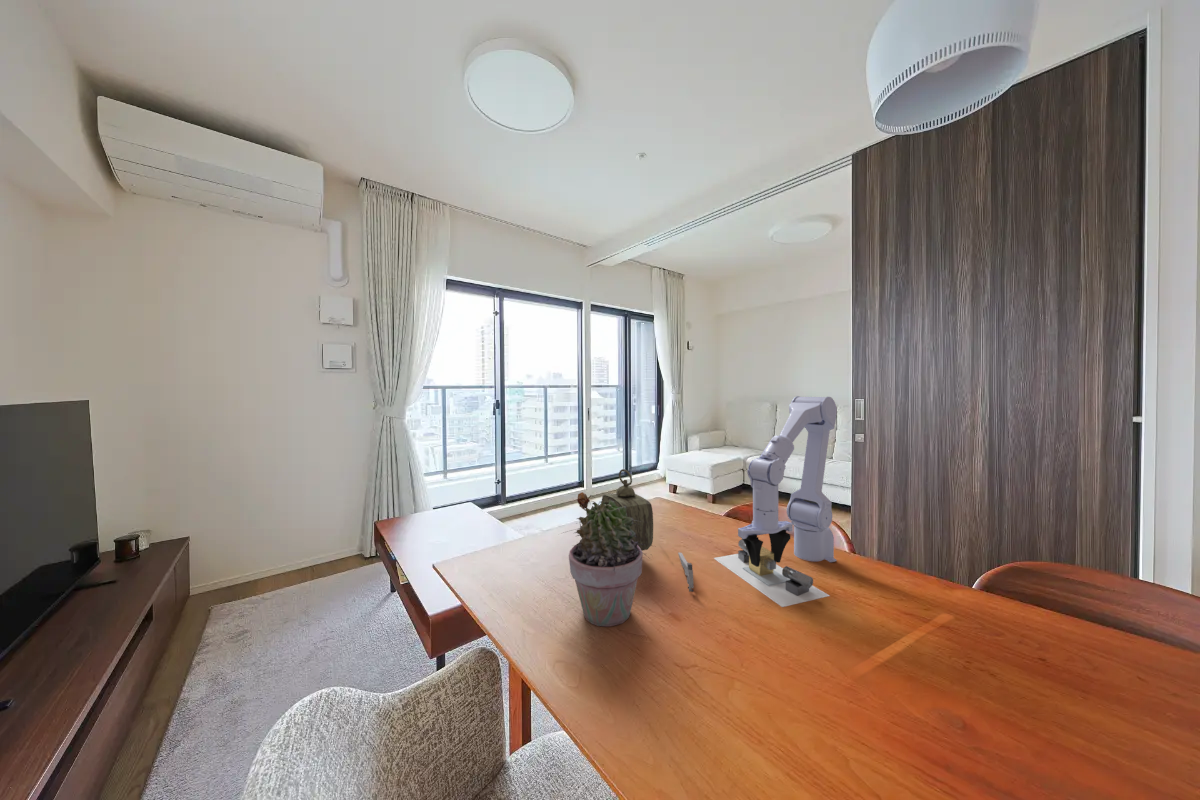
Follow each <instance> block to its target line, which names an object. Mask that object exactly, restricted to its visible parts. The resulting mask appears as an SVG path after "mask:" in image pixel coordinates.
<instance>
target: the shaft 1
mask: <svg viewBox="0 0 1200 800" xmlns="http://www.w3.org/2000/svg"><path fill="white" fill-rule="evenodd" d="M738 547H739V548H741V550H737V552H738V553H737V554H738V558H739V559H740V560H741V561H742V562H743V563H748V562H749V556H748V550H747V547H746V545H745V543H744V541H743V539H742V538H741V539H740V540H739V541H738Z"/></svg>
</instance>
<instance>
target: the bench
mask: <svg viewBox="0 0 1200 800" xmlns="http://www.w3.org/2000/svg"><path fill="white" fill-rule="evenodd" d="M713 559H714V560H715V561H717V562H718V563H719V564H721V565H722V566H723V567H725V568H726V569H728V570H729V571H730V572H732V573H733V574H734V575H737V576H738V577H739V579H742V580H743V581H745V582H746V583H748V585H750V586H752V588H754V589H756V590H757V591H759V592H760V593H761V594H763V595H764V596H766V597H767V598H769V599H770V600H772V602H774V603H776V604H777V605H778V606H780V607H781V608H786V607H789V606H793V605H797V604H802V603H805V602H810V601H815V600H819V599H823V598H827V597H831V595H829V594H828V593H827V592H824V591H823V590H821V589H819V588H818V587H816V586H814V584H813V585H812V586H811V587H810V588H809V592H806V593H804V594H801V595H799V596H796V595H795V594H793V593H791V592H789V591H787V590H786V581H788V580H790V579H788V578H786V577H784V576H783V575H782V570H783V568H784V567H781V566H780V565H779V564H777V563H776V569H773V573H772V574H767V575H762V576H759V575H758V574H757V573H755V572H754V571H752V570H751V569H750V568H749V562H748V563H743V562H742V561H741V560H740V559H739V558H738V553H734V554H729V555H723V556H722V555H721V556H718V557H717V556H716V557H713Z"/></svg>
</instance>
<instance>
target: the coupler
mask: <svg viewBox="0 0 1200 800" xmlns="http://www.w3.org/2000/svg"><path fill="white" fill-rule="evenodd" d="M748 556H749V553H748ZM776 564H777V562H776V561H774V553H772V552H771V550H770V549H767V547H764V546H762V547H761V551H760V564H759V567H756V566H754V565H753V564H751V560H750V556H749V568H750V569H751V570H752V571H754V572H755V573H757V574H758V575H759V576H762V575H767V574H772V573H773V569H776Z"/></svg>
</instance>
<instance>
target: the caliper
mask: <svg viewBox="0 0 1200 800" xmlns="http://www.w3.org/2000/svg"><path fill="white" fill-rule="evenodd" d="M677 554H678V557H679V561H680V564H681V566H682V568H683V569H684V574H685V576H686V583H687V584H688V586H687V589H688V592H690V593H691V592H692V593H693V592H694V570H693V564H692V563H691V562H688V560H686V557H685V556H684V554H683V552H677Z"/></svg>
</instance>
